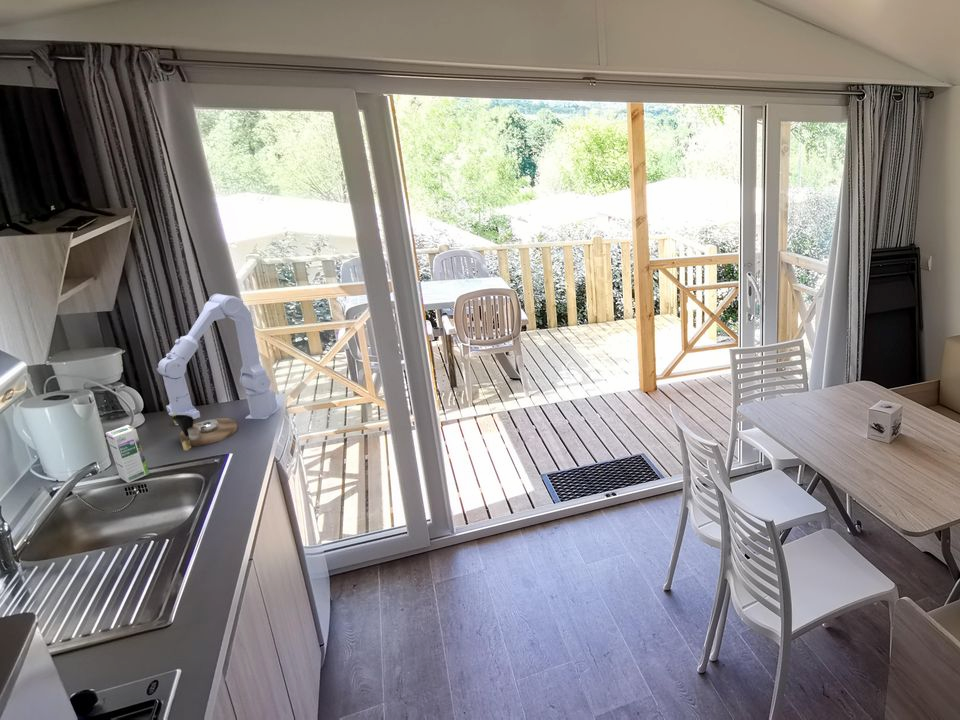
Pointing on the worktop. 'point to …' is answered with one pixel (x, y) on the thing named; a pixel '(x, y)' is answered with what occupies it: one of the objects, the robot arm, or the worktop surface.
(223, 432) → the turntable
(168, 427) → the worktop surface
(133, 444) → the syrup box
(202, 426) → the metal cover
